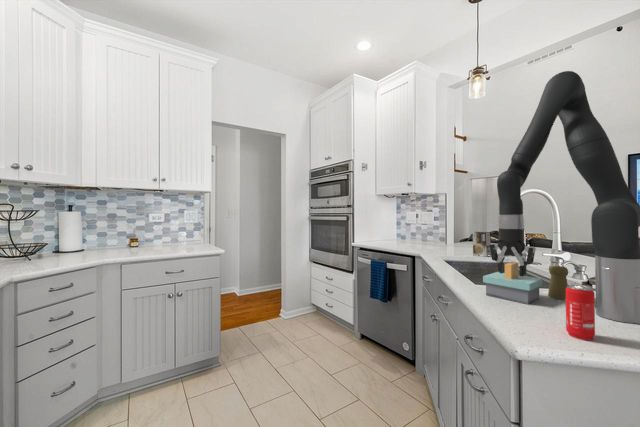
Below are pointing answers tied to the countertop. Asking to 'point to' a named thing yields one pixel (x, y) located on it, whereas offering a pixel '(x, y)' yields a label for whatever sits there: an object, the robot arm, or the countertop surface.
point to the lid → (512, 278)
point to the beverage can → (580, 312)
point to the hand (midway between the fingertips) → (511, 274)
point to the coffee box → (481, 243)
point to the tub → (512, 293)
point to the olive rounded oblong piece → (558, 282)
